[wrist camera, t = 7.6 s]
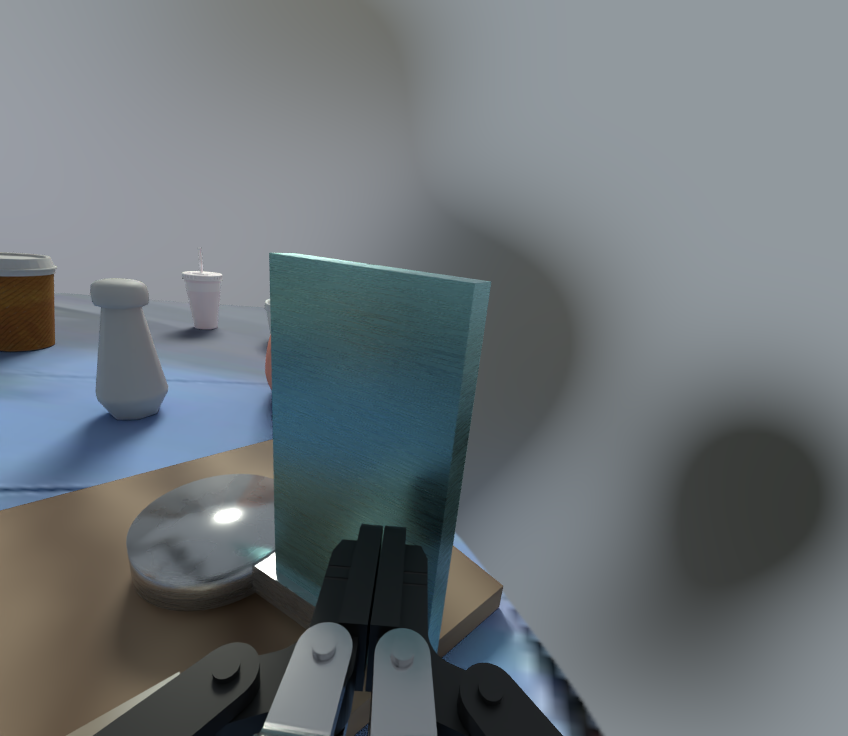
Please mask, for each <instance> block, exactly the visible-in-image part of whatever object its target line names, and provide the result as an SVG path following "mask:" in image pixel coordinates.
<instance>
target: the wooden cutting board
mask: <svg viewBox="0 0 848 736" xmlns="http://www.w3.org/2000/svg"><path fill="white" fill-rule="evenodd" d="M228 474H252V475H260V476H264V477H268V478H271V479H274V471H273V439H272V440H268V441H264V442H260V443H257V444H253V445H249V446H245V447H241V448H238V449H234V450H230V451H226V452H222V453H218V454H215V455H211V456H207V457H203V458H199V459H196V460H192V461H188V462H184V463H180V464H176V465H173V466H169V467H165V468H161V469H157V470H154V471H150V472H146V473H142V474H138V475H134V476H131V477H127V478H123V479H119V480H115V481H112V482H108V483H104V484H100V485H96V486H93V487H89V488H85V489H81V490H77V491H73V492H70V493H66V494H62V495H58V496H54V497H51V498H47V499H43V500H39V501H35V502H31V503H28V504H24V505H20V506H16V507H12V508H9V509H5V510H1V511H0V736H93V735H94V734H96V733H97V732H98V731H100V730H101V729H103V728H104V727H106V726H107V725H108V724H110V723H111V722H113V721H114V720H115V719H117V718H118V717H120V716H121V715H123V714H124V713H125V712H127V711H128V710H130V709H131V708H132V707H134V706H135V705H137V704H138V703H140V702H141V701H142V700H144V699H145V698H147V697H148V696H149V695H151V694H152V693H154V692H155V691H157V690H158V689H159V688H161V687H162V686H164V685H165V684H166V683H168V682H169V681H171V680H172V679H174V678H175V677H176V676H178V675H179V674H181V673H182V672H183V671H185V670H186V669H188V668H189V667H191V666H192V665H193V664H195V663H196V662H198V661H199V660H200V659H202V658H203V657H205V656H206V655H208V654H209V653H210V652H212V651H213V650H215V649H217V648H218V647H221V646H223V645H226V644H229V643H234V642H241V643H246V644H249V645H250V646H252V647H253V648H254V649H255V650H256V652H257V653H258V656H259V655H263V654H267V653H271V652H275V651H279V650H282V649H285V648H287V647H289V646H291V645H293V644H294V643H295V642H297V641H298V640H299V638H300V637H301V635H302V634H303V633H304V632H305V631H306V629H305V628H304V627H302V626H301V625H300V624H298V623H297V622H295V621H294V620H293V619H291V618H290V617H289V616H287V615H286V614H284V613H283V612H282V611H280V610H279V609H278V608H276V607H275V606H273V605H272V604H271V603H269V602H268V601H267V600H265V599H264V598H262V597H261V596H260V595H258V594H257V593H256V592H255V593H254V594H252V595H250V596H248V597H246V598H243V599H241V600H239V601H236V602H234V603H231V604H228V605H225V606H221V607H217V608H213V609H207V610H200V611H174V610H167V609H164V608H160V607H157V606H155V605H153V604H150V603H148V602H147V601H146V600H144V599H143V598H142V597H141V596H140V595H139V594H138V593H137V592H136V590H135V588H134V586H133V582H132V578H131V571H130V565H129V559H128V552H127V546H126V538H127V534H128V530H129V528H130V526H131V524H132V523H133V521H134V520H135V518H136V517H137V516H138V515H139V514H140V513H141V511H142V510H143V509H145V508H146V507H147V506H148V505H149V504H150V503H152V502H153V501H155V500H156V499H157V498H159V497H161V496H162V495H164V494H166V493H167V492H169V491H171V490H173V489H175V488H178V487H180V486H183V485H185V484H188V483H191V482H194V481H197V480H200V479H204V478H209V477H213V476H219V475H228ZM502 590H503V585H501V584H500V583H499V582H498V581H497V580H495V579H494V578H493V577H492V576H490V575H489V574H488V573H487V572H485V571H484V570H483V569H482V568H480V567H479V566H478V565H477V564H475V563H474V562H473V561H472V560H470V559H469V558H468V557H467V556H466V555H464V554H463V553H462V552H461V551H459V550H458V549H457V548H456V547H454V546H453V548H452V555H451V562H450V569H449V576H448V583H447V589H446V596H445V603H444V610H443V617H442V624H441V631H440V638H439V645H438V651H437V654H438V655H439V656H440V657H441V658H442V657H443V656H444V655H446V654H447V653H448V652H449V651H450V650H451V649H452V648H453V647H455V646H456V645H457V644H458V643H459V642H460V641H461V640H462V639H464V638H465V637H466V636H467V635H468V634H469V633H470V632H471V631H473V630H474V629H475V628H476V627H477V626H478V625H479V624H480V623H482V622H483V621H484V620H485V619H486V618H487V617H488V616H489V615H491V614H492V613H493V612H494V611H495V610H496V609H497V608H499V605H500V600H501V595H502ZM366 675H367V664H366V671H365V679H364V686H363V691H354V696H353V703H352V709H351V714H350V717H349V720H348V726H347V731H346V735H345V736H354V735H355V734H356V733H358V732H359V731H360V730H361V729H362V728H363V727H364V726H365V725H367V724H368V723H369V715H370V702H371V692H365V688H366Z"/></svg>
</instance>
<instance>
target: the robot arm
mask: <svg viewBox="0 0 848 736" xmlns="http://www.w3.org/2000/svg"><path fill="white" fill-rule="evenodd" d="M382 535H383V526H382V525H371V524H361V526H360V530H359V534H358V539H357V540H346V539H342V540H341V542H340V543H339V544H338V545H337V546H336V547H335V548H334V550H333V551H332V554H331V557H330V561H329V564H328V567H327V570H326V574H325V578H324V580H323V584H322V587H321V590H320V594H319V597H318V600H317V604H316V607H315V610H314V614H313V617H312V620H311V623H310V626H309V628H308V629H307V630H306V631H305V632H304V633H303V634H302V635H301V637H300V638H299V640H298V641H297V642H295V643H294V644H293V645H291V646H289V647H287V648H285V649H282V650H279V651H275V652H271V653H267V654H263V655H259V656H258V653H257V652H256V650H255V649H254V648H253V647H252V646H250V645H249V644H246V643H241V642H234V643H229V644H226V645H223V646H221V647H218V648H217V649H215V650H213V651H212V652H210V653H209V654H208V655H206V656H205V657H203V658H202V659H200V660H199V661H198V662H196V663H195V664H193V665H192V666H191V667H189V668H188V669H186V670H185V671H183V672H182V673H181V674H179V675H178V676H176V677H175V678H174V679H172V680H171V681H169V682H168V683H166V684H165V685H164V686H162V687H161V688H159V689H158V690H157V691H155V692H154V693H152V694H151V695H149V696H148V697H147V698H145V699H144V700H142V701H141V702H140V703H138V704H137V705H135V706H134V707H132V708H131V709H130V710H128V711H127V712H125V713H124V714H123V715H121V716H120V717H118V718H117V719H115V720H114V721H113V722H111V723H110V724H108V725H107V726H106V727H104V728H103V729H101V730H100V731H98V732H97V733H96V734H94V735H93V736H345V735H346V731H347V726H348V720H349V717H350V714H351V709H352V703H353V696H354V691H363V686H364V679H365V671H366V664H367V675H366V688H365V692H371V702H370V715H369V726H368V736H563V735H562V734H561V733H560V732H559V731H558V730H557V728H556V727H555V726H554V725H553V724H552V723H551V722H550V721H549V719H548V718H547V717H546V716H545V715H544V714H543V713H542V712H541V710H540V709H539V708H538V707H537V706H536V705H535V704H534V703H533V701H532V700H531V699H530V698H529V697H528V696H527V695H526V694H525V692H524V691H523V690H522V689H521V688H520V687H519V686H518V685H517V683H516V682H515V681H514V680H513V679H512V678H511V677H510V676H509V675H508V674H507V673H506V672H505V671H504V670H503V669H501V668H500V667H498V666H496V665H493V664H490V663H477V664H475V665H472V666H471V667H469V668H468V669H467V670H464V669H461V668H459V667H457V666H454V665H452V664H450V663H448V662H446V661H445V660H444V659H442V658H441V657H440V656H439V655H438V654H437V653H436V652H435V650H434V649H433V647H432V646H431V643H430V641H429V637H428V558H427V556H426V554H425V552H424V550H423V548H422V546H418V545H406V544H405V543H406V527H395V526H385V528H384V535H383V542H382ZM381 547H382V548H381ZM367 657H368V662H367Z"/></svg>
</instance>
